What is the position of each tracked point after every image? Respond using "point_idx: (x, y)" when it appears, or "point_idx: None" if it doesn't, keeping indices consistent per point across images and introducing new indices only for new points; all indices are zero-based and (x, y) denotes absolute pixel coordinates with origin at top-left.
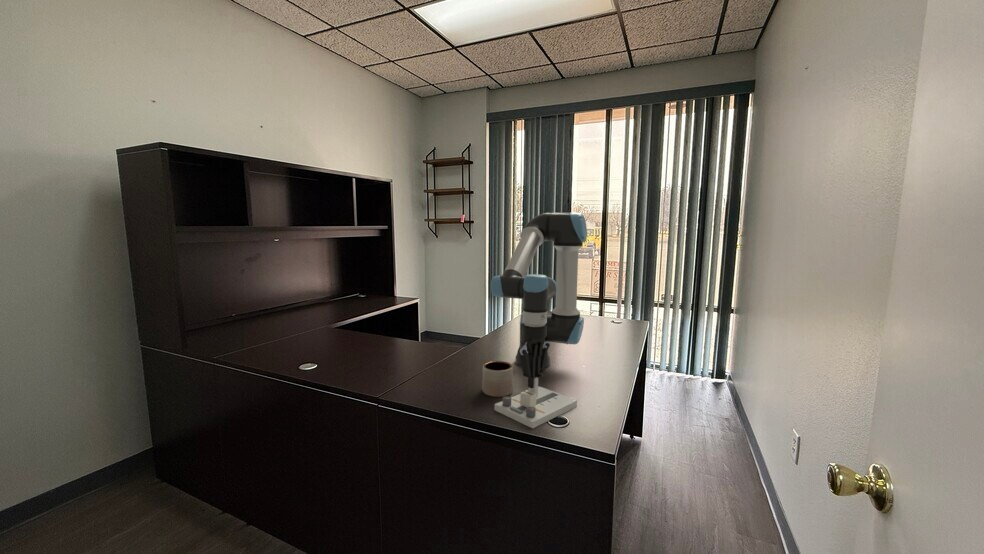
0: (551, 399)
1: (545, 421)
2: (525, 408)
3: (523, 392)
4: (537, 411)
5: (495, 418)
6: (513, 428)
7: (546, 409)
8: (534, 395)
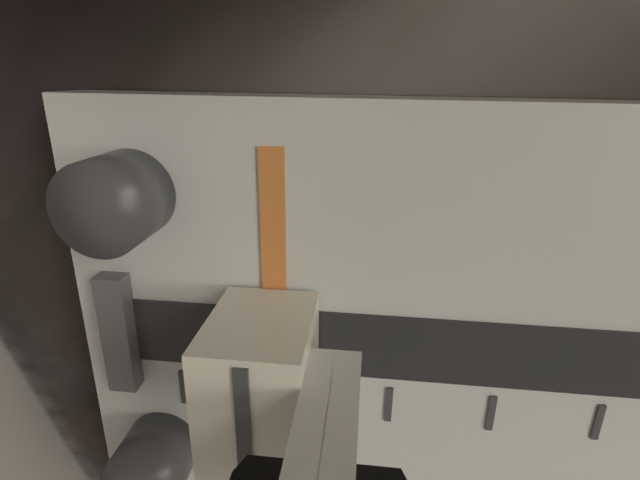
0: (548, 408)
1: None
2: None
3: (210, 379)
4: None
5: (9, 204)
6: (40, 378)
7: None
8: None
